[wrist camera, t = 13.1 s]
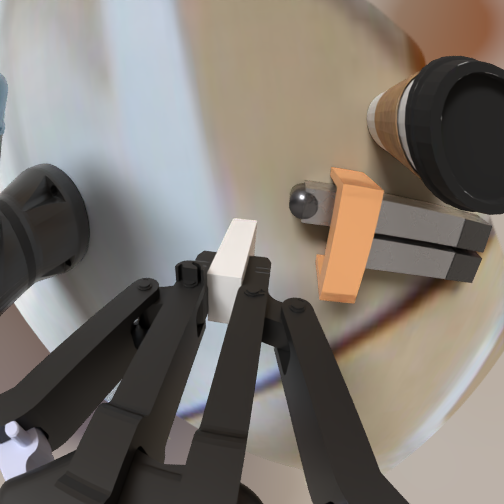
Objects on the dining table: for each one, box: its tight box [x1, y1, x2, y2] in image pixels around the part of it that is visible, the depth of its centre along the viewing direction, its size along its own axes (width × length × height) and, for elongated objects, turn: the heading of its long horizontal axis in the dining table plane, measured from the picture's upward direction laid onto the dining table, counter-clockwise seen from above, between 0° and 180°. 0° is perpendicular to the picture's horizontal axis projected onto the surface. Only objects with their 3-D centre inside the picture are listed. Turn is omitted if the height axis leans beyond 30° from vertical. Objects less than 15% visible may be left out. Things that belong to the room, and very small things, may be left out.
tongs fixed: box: [289, 180, 492, 252], centre depth 23 cm, size 21×3×3 cm, turn 86°
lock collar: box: [316, 167, 384, 303], centre depth 23 cm, size 3×10×6 cm, turn 176°
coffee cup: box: [367, 56, 504, 215], centre depth 14 cm, size 8×8×15 cm
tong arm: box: [325, 229, 482, 283], centre depth 24 cm, size 17×3×3 cm, turn 85°
